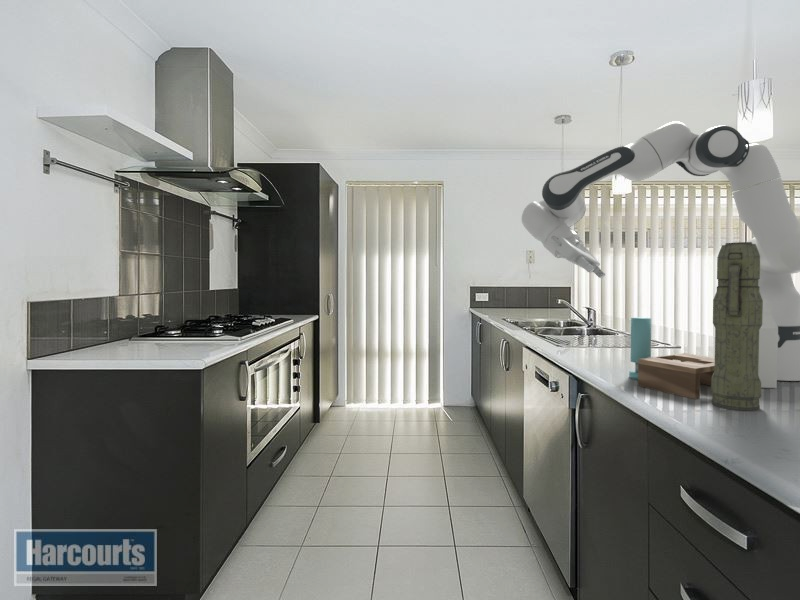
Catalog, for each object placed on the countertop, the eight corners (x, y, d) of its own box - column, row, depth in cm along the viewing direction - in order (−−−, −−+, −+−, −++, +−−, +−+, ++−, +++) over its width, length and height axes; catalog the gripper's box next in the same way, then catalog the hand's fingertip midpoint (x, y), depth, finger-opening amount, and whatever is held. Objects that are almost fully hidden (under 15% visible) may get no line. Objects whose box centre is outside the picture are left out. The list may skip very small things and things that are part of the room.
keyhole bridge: (684, 378, 134) (684, 353, 134) (742, 390, 120) (743, 361, 120) (638, 386, 126) (638, 358, 126) (695, 399, 113) (695, 368, 112)
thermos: (709, 408, 104) (712, 242, 103) (712, 397, 114) (714, 245, 112) (761, 415, 100) (765, 240, 98) (759, 402, 109) (763, 243, 108)
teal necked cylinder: (633, 374, 140) (634, 316, 139) (654, 377, 136) (655, 317, 135) (626, 378, 136) (626, 318, 135) (647, 380, 132) (648, 319, 131)
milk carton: (776, 388, 121) (778, 311, 120) (744, 387, 123) (746, 311, 122) (761, 382, 128) (763, 309, 127) (731, 381, 130) (732, 309, 129)
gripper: (557, 225, 135) (593, 257, 128) (583, 242, 151) (616, 271, 143) (541, 243, 137) (576, 276, 130) (568, 257, 153) (600, 287, 146)
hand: (597, 273), depth 137 cm, fingers open, 8 cm apart
